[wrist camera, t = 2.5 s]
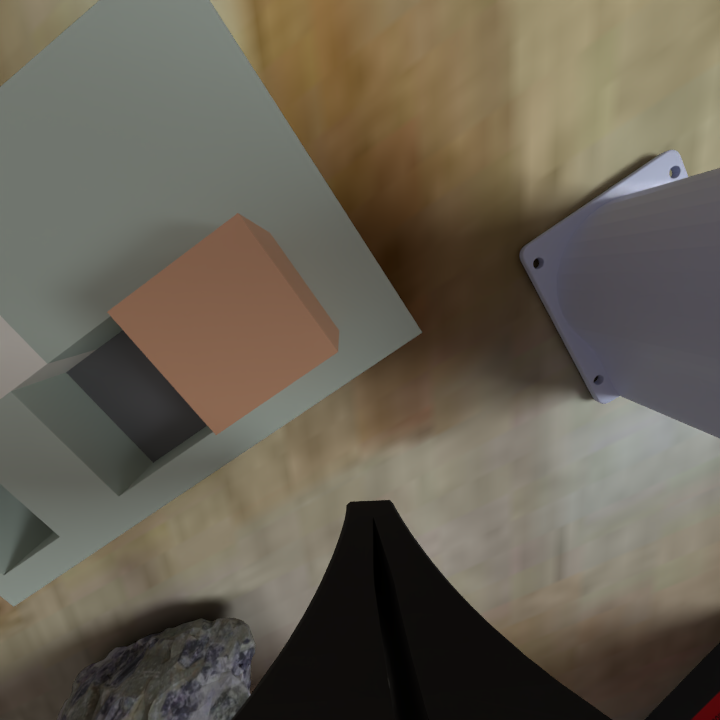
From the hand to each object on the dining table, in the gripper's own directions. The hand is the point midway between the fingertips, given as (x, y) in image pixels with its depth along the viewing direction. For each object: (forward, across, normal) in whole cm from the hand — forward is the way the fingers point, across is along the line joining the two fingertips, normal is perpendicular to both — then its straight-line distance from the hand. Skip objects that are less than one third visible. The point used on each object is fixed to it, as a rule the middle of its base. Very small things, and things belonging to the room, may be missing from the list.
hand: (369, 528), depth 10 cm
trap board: (+8, +11, -5) cm, 15 cm away
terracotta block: (+5, +4, -6) cm, 9 cm away
